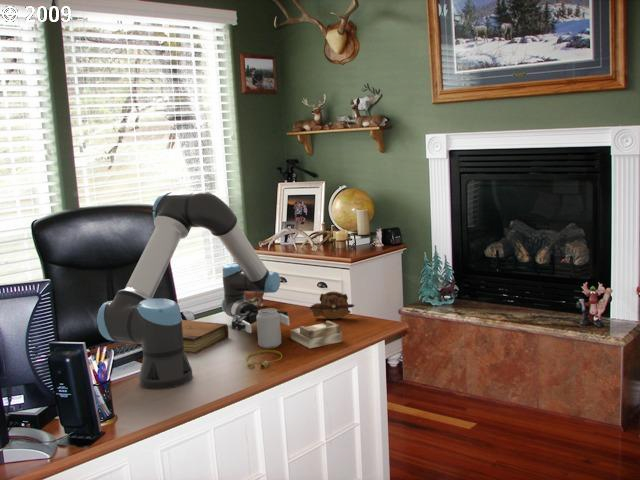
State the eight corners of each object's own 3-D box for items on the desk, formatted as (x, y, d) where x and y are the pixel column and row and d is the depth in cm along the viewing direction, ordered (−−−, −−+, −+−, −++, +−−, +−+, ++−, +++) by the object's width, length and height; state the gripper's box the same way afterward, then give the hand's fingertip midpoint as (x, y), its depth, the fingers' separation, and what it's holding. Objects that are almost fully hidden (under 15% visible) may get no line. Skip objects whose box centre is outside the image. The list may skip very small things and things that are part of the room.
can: (254, 346, 241) (251, 311, 239) (271, 340, 246) (269, 306, 244) (268, 350, 235) (265, 314, 233) (286, 345, 240) (283, 309, 238)
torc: (230, 366, 223) (229, 360, 223) (262, 351, 236) (261, 345, 236) (262, 372, 216) (261, 365, 216) (292, 356, 229) (292, 350, 229)
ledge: (309, 348, 235) (308, 331, 234) (291, 338, 247) (290, 322, 246) (342, 341, 240) (341, 325, 239) (322, 332, 252) (321, 316, 252)
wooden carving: (310, 321, 268) (308, 294, 266) (311, 317, 272) (309, 291, 270) (355, 319, 266) (353, 293, 264) (355, 316, 270) (354, 290, 268)
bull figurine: (231, 307, 295) (230, 287, 294) (265, 304, 298) (263, 284, 296) (232, 310, 291) (230, 290, 290) (266, 306, 293) (264, 286, 292)
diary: (229, 339, 253) (227, 323, 252) (195, 356, 237) (194, 338, 236) (176, 333, 264) (175, 318, 263) (141, 348, 248) (139, 332, 247)
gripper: (278, 316, 265) (304, 329, 246) (212, 328, 254) (234, 343, 235) (276, 296, 264) (302, 307, 245) (210, 307, 253) (232, 320, 234)
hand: (269, 325), depth 240 cm, fingers open, 13 cm apart
